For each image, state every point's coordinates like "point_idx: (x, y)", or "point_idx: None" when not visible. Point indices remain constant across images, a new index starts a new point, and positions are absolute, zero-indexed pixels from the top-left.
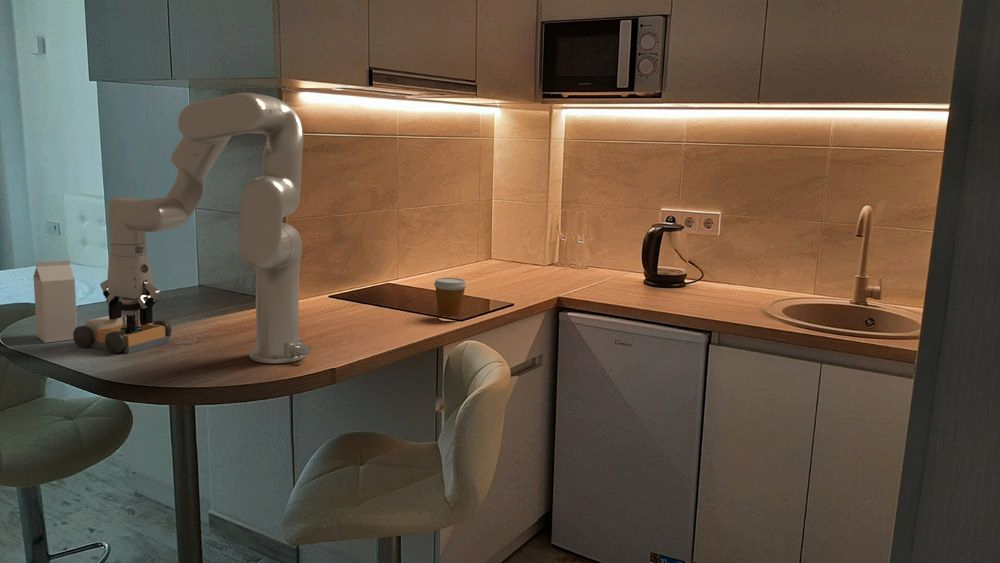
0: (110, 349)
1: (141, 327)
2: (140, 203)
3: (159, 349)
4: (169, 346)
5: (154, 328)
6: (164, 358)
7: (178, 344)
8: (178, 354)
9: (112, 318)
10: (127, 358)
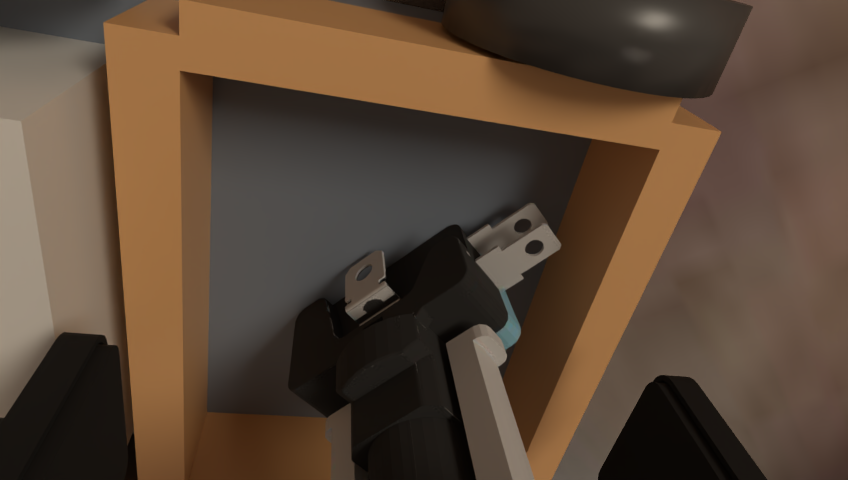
0: None
1: (478, 289)
2: None
3: (660, 269)
4: (707, 174)
5: (633, 257)
6: (762, 401)
7: (766, 88)
8: (828, 315)
9: (123, 467)
10: None
